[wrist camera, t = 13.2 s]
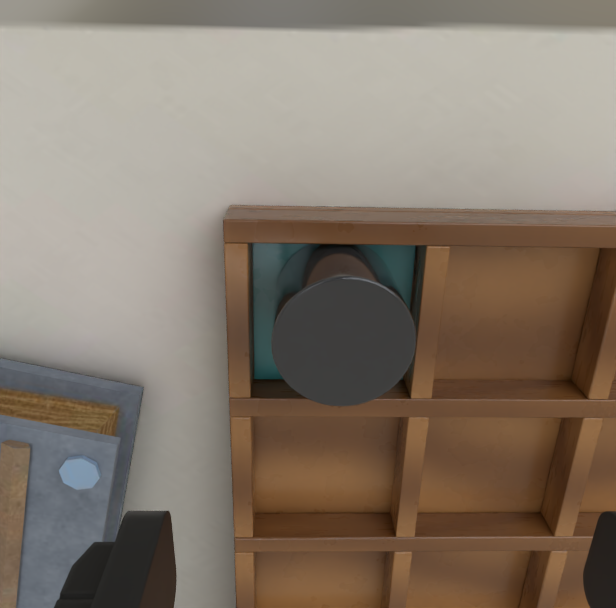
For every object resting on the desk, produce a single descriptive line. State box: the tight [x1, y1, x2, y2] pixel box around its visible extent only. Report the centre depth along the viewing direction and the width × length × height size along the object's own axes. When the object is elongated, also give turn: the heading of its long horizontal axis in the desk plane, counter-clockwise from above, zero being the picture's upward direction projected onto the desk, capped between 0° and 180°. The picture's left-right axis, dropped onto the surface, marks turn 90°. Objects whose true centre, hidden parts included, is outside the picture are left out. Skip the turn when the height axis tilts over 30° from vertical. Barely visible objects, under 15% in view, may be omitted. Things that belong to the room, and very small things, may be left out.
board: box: [223, 205, 616, 608], centre depth 24 cm, size 21×21×2 cm
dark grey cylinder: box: [271, 244, 416, 406], centre depth 19 cm, size 4×4×4 cm
